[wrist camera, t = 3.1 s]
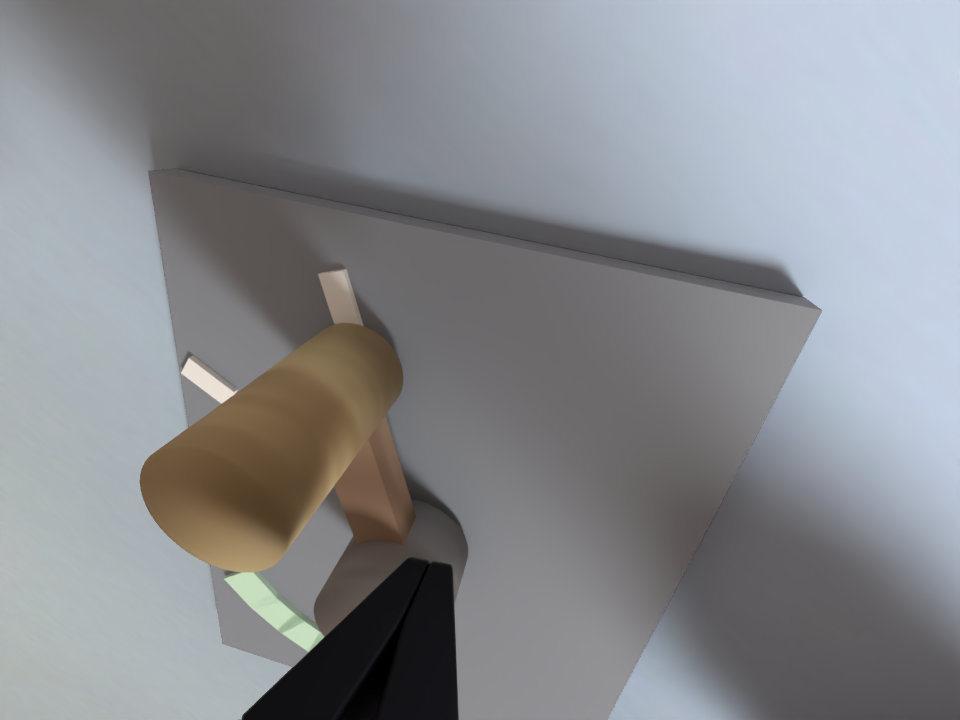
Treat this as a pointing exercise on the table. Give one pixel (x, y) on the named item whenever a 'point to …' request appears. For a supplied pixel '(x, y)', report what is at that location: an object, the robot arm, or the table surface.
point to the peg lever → (302, 472)
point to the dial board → (489, 419)
